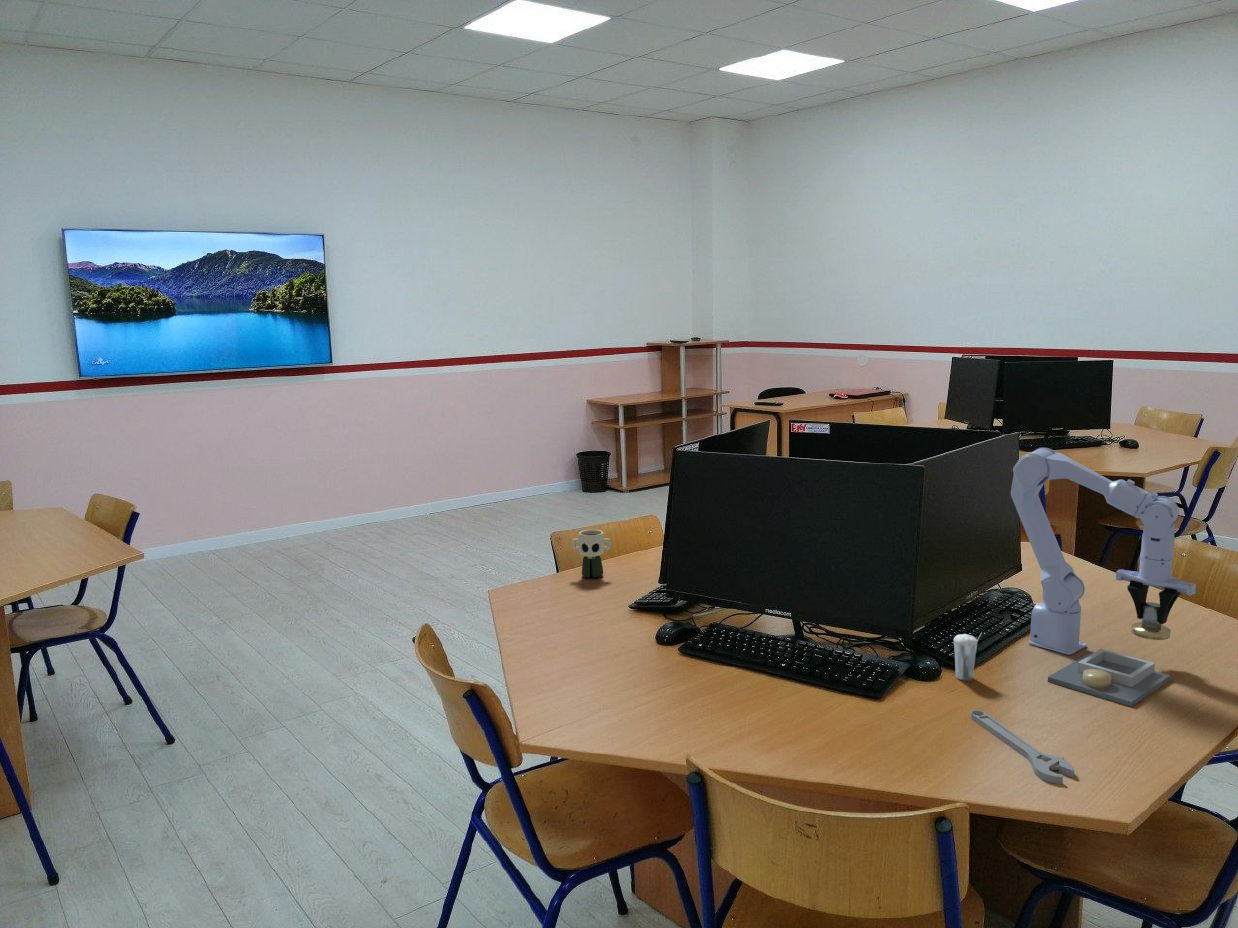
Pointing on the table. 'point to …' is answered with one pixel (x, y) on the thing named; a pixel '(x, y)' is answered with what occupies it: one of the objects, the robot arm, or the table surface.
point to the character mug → (591, 551)
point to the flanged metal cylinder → (1151, 624)
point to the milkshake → (965, 656)
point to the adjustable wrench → (1026, 750)
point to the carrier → (1111, 677)
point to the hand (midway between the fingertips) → (1151, 620)
